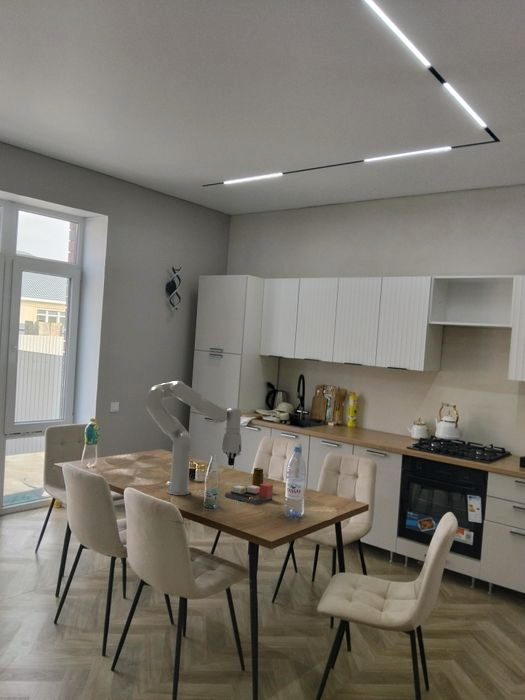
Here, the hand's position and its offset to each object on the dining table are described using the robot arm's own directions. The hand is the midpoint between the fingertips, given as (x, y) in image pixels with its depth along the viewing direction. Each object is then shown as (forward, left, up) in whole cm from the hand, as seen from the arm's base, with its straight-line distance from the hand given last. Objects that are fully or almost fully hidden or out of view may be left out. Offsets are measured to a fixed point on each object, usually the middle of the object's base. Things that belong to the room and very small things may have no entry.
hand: (231, 464), depth 303 cm
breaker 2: (+12, +6, -14) cm, 19 cm away
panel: (+12, +2, -16) cm, 20 cm away
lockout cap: (+20, +6, -14) cm, 25 cm away
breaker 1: (+7, 0, -13) cm, 15 cm away
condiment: (+6, +19, -16) cm, 26 cm away
